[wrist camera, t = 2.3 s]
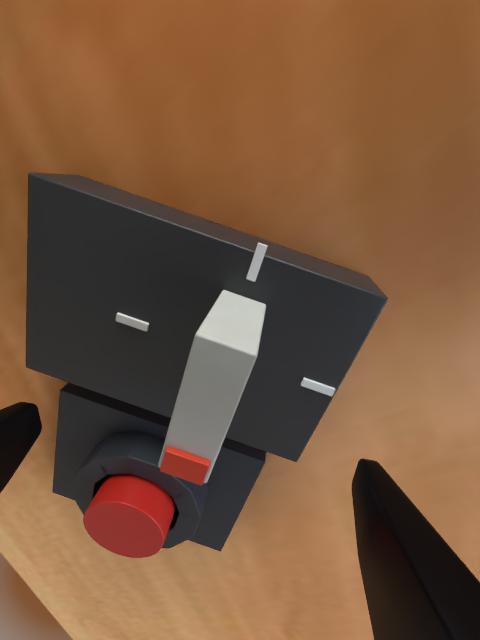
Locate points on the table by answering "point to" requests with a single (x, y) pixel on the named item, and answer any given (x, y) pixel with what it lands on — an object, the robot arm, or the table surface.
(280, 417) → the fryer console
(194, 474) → the grey block red tip
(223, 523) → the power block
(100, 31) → the table surface
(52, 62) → the table surface
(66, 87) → the table surface
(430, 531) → the robot arm
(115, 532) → the power button
